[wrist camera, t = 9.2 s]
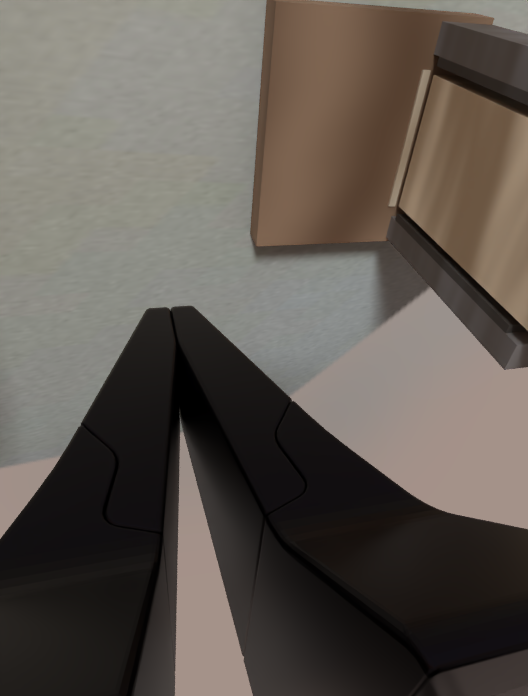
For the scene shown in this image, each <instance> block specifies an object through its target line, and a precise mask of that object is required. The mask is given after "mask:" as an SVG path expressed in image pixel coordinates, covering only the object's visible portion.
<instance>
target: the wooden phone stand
mask: <svg viewBox="0 0 528 696" xmlns="http://www.w3.org/2000/svg"><path fill="white" fill-rule="evenodd" d="M493 20H494V18H491V17H487V16H483V15H479V14H474V13H461V12H449V11H436V10H423V9H411V8H398V7H385V6H373V5H360V4H348V3H335V2H322V1H310V0H267V4H266V18H265V33H264V47H263V61H262V75H261V89H260V103H259V118H258V132H257V146H256V160H255V174H254V188H253V203H252V217H251V231H250V234H251V236H252V238H253V240H254V242H255V245H256V246H279V245H302V244H326V243H350V242H374V241H390V242H391V243H392V244H393V246H394V247H395V248H396V249H397V250H398V251H399V252H400V253H401V254H402V256H403V257H404V258H405V259H406V260H407V261H408V262H409V263H410V265H411V266H412V267H413V268H414V269H415V270H416V271H417V272H418V274H419V275H420V276H421V277H422V278H423V279H424V280H425V281H426V283H427V284H428V285H429V286H430V287H431V288H432V289H433V290H434V291H435V292H436V294H437V295H438V296H439V297H440V298H441V299H442V300H443V302H444V303H445V304H446V305H447V306H448V307H449V308H450V309H451V310H452V312H453V313H454V314H455V315H456V316H457V317H458V318H459V319H460V320H461V322H462V323H463V324H464V325H465V326H466V327H467V328H468V330H470V332H471V333H472V334H473V335H474V336H475V337H476V339H477V340H478V341H479V342H480V343H481V344H482V345H483V346H484V348H485V349H486V350H487V351H488V352H489V353H490V354H491V355H492V356H493V358H495V360H496V361H497V362H498V363H499V364H500V365H501V366H502V368H503V369H504V370H506V369H515V368H523V367H528V331H527V330H526V329H525V328H524V327H523V326H522V325H521V324H520V323H519V322H518V321H517V320H516V319H515V318H514V317H513V316H512V315H511V314H510V313H509V312H508V311H507V310H506V309H505V308H504V307H503V306H501V305H500V304H499V303H498V302H497V301H496V300H495V299H494V298H493V297H492V296H491V295H490V294H489V293H488V292H487V291H486V290H485V289H484V288H483V287H482V286H481V285H480V284H479V283H478V282H477V281H476V280H475V279H474V278H472V277H471V276H470V275H469V274H468V273H467V272H466V271H465V270H464V269H463V268H462V267H461V266H460V265H459V264H458V263H457V262H456V261H455V260H454V259H453V258H452V257H451V256H450V255H449V254H448V253H447V252H446V251H445V250H444V249H442V248H441V247H440V246H439V245H438V244H437V243H436V242H435V241H434V240H433V239H432V238H431V237H430V236H429V235H428V234H427V233H426V232H425V231H424V230H423V229H422V228H421V227H420V226H419V225H418V224H417V223H416V222H415V221H414V220H412V219H411V218H410V217H409V216H408V215H407V214H406V213H405V212H404V211H403V210H402V209H401V208H400V207H399V203H400V199H401V195H402V192H403V188H404V184H405V180H406V177H407V173H408V169H409V165H410V162H411V158H412V154H413V151H414V147H415V143H416V139H417V136H418V132H419V128H420V124H421V121H422V117H423V113H424V109H425V106H426V102H427V98H428V94H429V91H430V87H431V83H432V80H433V76H434V75H446V76H461V77H463V78H465V79H468V80H470V81H472V82H475V83H477V84H479V85H481V86H484V87H486V88H488V89H491V90H493V91H495V92H498V93H500V94H502V95H505V96H507V97H509V98H512V99H514V100H516V101H519V102H521V103H523V104H525V105H528V34H525V33H521V32H517V31H513V30H510V29H506V28H502V27H498V26H494V25H492V24H493Z"/></svg>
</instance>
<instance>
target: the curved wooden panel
mask: <svg viewBox="0 0 528 696" xmlns="http://www.w3.org/2000/svg"><path fill="white" fill-rule="evenodd" d="M399 207H400V208H401V209H402V210H403V211H404V212H405V213H406V214H407V215H408V216H409V217H410V218H411V219H412V220H414V221H415V222H416V223H417V224H418V225H419V226H420V227H421V228H422V229H423V230H424V231H425V232H426V233H427V234H428V235H429V236H430V237H431V238H432V239H433V240H434V241H435V242H436V243H437V244H438V245H439V246H440V247H441V248H442V249H444V250H445V251H446V252H447V253H448V254H449V255H450V256H451V257H452V258H453V259H454V260H455V261H456V262H457V263H458V264H459V265H460V266H461V267H462V268H463V269H464V270H465V271H466V272H467V273H468V274H469V275H470V276H471V277H472V278H474V279H475V280H476V281H477V282H478V283H479V284H480V285H481V286H482V287H483V288H484V289H485V290H486V291H487V292H488V293H489V294H490V295H491V296H492V297H493V298H494V299H495V300H496V301H497V302H498V303H499V304H500V305H501V306H503V307H504V308H505V309H506V310H507V311H508V312H509V313H510V314H511V315H512V316H513V317H514V318H515V319H516V320H517V321H518V322H519V323H520V324H521V325H522V326H523V327H524V328H525V329H526V330H527V331H528V105H525V104H523V103H521V102H519V101H516V100H514V99H512V98H509V97H507V96H505V95H502V94H500V93H498V92H495V91H493V90H491V89H488V88H486V87H484V86H481V85H479V84H477V83H475V82H472V81H470V80H468V79H465V78H463V77H461V76H446V75H434V76H433V80H432V83H431V87H430V91H429V94H428V98H427V102H426V106H425V109H424V113H423V117H422V121H421V124H420V128H419V132H418V136H417V139H416V143H415V147H414V151H413V154H412V158H411V162H410V165H409V169H408V173H407V177H406V180H405V184H404V188H403V192H402V195H401V199H400V203H399Z"/></svg>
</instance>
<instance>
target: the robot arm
mask: <svg viewBox="0 0 528 696" xmlns="http://www.w3.org/2000/svg"><path fill="white" fill-rule="evenodd" d="M179 412H180V413H179ZM180 418H181V423H182V428H183V432H184V436H185V439H186V443H187V447H188V451H189V455H190V458H191V462H192V466H193V469H194V473H195V477H196V481H197V485H198V489H199V492H200V496H201V500H202V503H203V508H204V511H205V515H206V519H207V523H208V526H209V530H210V534H211V538H212V542H213V545H214V549H215V553H216V557H217V560H218V564H219V568H220V572H221V576H222V579H223V583H224V586H225V591H226V595H227V598H228V602H229V606H230V609H231V613H232V617H233V621H234V625H235V628H236V632H237V636H238V640H239V644H240V648H241V651H242V655H243V656H244V663H245V667H246V670H247V674H248V678H249V682H250V686H251V689H252V693H253V696H528V529H524V528H519V527H514V526H509V525H504V524H499V523H494V522H490V521H485V520H480V519H475V518H470V517H465V516H460V515H455V514H451V513H447V512H445V511H442V510H439V509H436V508H434V507H432V506H430V505H428V504H426V503H424V502H422V501H421V500H419V499H417V498H416V497H414V496H413V495H411V494H410V493H408V492H407V491H406V490H404V489H403V488H401V487H400V486H399V485H398V484H396V483H395V482H393V481H392V480H391V479H389V478H388V477H387V476H385V475H384V474H383V473H381V472H380V471H379V470H377V469H376V468H375V467H373V466H372V465H371V464H369V463H368V462H367V461H365V460H364V459H363V458H361V457H360V456H359V455H357V454H356V453H355V452H353V451H352V450H351V449H349V448H348V447H347V446H345V445H344V444H343V443H342V442H340V441H339V440H338V439H337V438H335V437H334V436H333V435H332V434H330V433H329V432H328V431H326V430H325V429H324V428H323V427H322V426H321V425H319V423H317V422H316V421H315V420H314V419H313V418H312V417H310V416H309V415H308V414H307V413H306V412H305V411H304V410H303V409H302V408H301V407H300V406H299V405H298V404H297V403H295V402H294V401H292V400H291V398H290V397H289V396H288V395H287V394H286V393H285V392H284V391H282V390H281V389H280V388H279V387H278V386H277V385H276V384H275V383H274V382H273V381H272V380H271V379H270V378H269V377H268V376H267V375H265V374H264V373H263V372H262V371H261V370H260V369H259V368H258V367H257V366H256V365H255V364H254V363H253V362H252V361H251V360H250V359H248V358H247V357H246V356H245V355H244V354H243V353H242V352H241V351H240V350H239V349H238V348H237V347H236V346H235V345H234V344H233V343H231V342H230V341H229V340H228V339H227V338H226V337H225V336H224V335H223V334H222V333H221V332H220V331H219V330H218V329H217V328H216V327H215V326H213V325H212V324H211V323H210V322H209V321H208V320H207V319H206V318H205V317H204V316H203V315H202V314H201V313H200V312H199V311H198V310H196V309H195V308H194V307H193V306H178V307H172V308H171V310H170V309H169V308H167V307H164V308H149V309H147V310H146V311H145V313H144V315H143V317H142V318H141V320H140V322H139V323H138V325H137V327H136V329H135V330H134V332H133V334H132V336H131V337H130V339H129V341H128V343H127V344H126V346H125V348H124V350H123V351H122V353H121V355H120V356H119V358H118V360H117V362H116V363H115V365H114V367H113V369H112V370H111V372H110V374H109V376H108V377H107V379H106V381H105V383H104V384H103V386H102V388H101V389H100V391H99V393H98V395H97V396H96V398H95V400H94V402H93V403H92V405H91V407H90V409H89V410H88V412H87V414H86V416H85V417H84V419H83V421H82V422H81V426H80V427H78V429H77V431H76V432H75V434H74V436H73V438H72V439H71V441H70V443H69V445H68V446H67V448H66V449H65V451H64V453H63V454H62V456H61V457H60V459H59V461H58V462H57V464H56V465H55V467H54V469H53V470H52V471H51V473H50V474H49V475H48V477H47V478H46V479H45V481H44V482H43V484H42V485H41V486H40V488H39V489H38V490H37V492H36V493H35V495H34V496H33V497H32V498H31V500H30V501H29V502H28V504H27V505H26V506H25V508H24V509H23V510H22V511H21V513H20V514H19V515H18V517H17V518H16V519H15V521H14V522H13V523H12V525H11V526H10V527H9V528H8V530H7V531H6V532H5V534H4V535H3V536H2V538H1V539H0V696H175V654H176V652H175V651H176V603H177V602H176V600H177V551H178V550H177V548H178V503H179V451H180Z"/></svg>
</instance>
